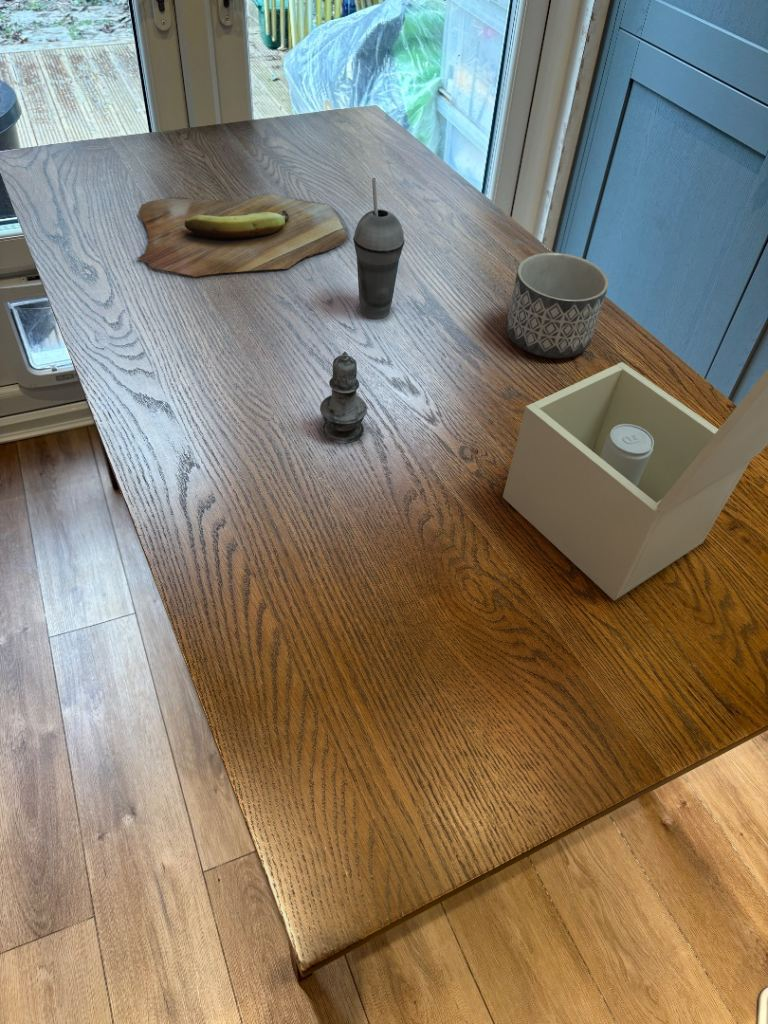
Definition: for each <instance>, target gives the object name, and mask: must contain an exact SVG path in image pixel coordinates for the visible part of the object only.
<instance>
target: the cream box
mask: <svg viewBox="0 0 768 1024" xmlns="http://www.w3.org/2000/svg"><path fill="white" fill-rule="evenodd" d="M621 424H632V425H636V426H639V427H641V428H643V429H645V430H646V431H647V432H649V433H650V435H651V436H652V437H653V440H654V446H653V451H652V454H651V456H650V458H649V460H648V463H647V465H646V467H645V469H644V472H643V474H642V476H641V478H640V481H639V483H638V485H637V487H636V486H635V485H634V484H632V483H631V482H630V481H629V480H627V479H626V478H625V477H624V476H622V475H621V474H620V473H619V472H618V471H616V470H615V469H614V468H613V467H611V466H610V465H609V464H608V463H606V462H605V461H604V460H603V459H601V458H600V455H601V452H602V449H603V447H604V444H605V441H606V439H607V436H608V435H609V433H610V432H611V430H612V429H613V428H614V427H615V426H617V425H621ZM718 430H719V428H718V427H716V426H715V425H713V424H712V423H710V422H709V421H707V420H706V419H705V418H703V417H701V415H699V414H698V413H696V412H694V411H693V410H692V409H690V408H689V407H687V405H685V404H683V403H682V402H680V400H678V399H676V398H675V397H673V396H672V395H670V394H669V393H668V392H666V391H664V389H662V388H660V386H657V385H656V384H654V383H653V382H652V381H650V380H649V379H647V378H646V377H644V376H643V375H642V374H640V373H638V371H636V370H634V369H633V368H632V367H630V366H629V365H628V364H626V363H625V362H623V361H620V362H618V363H617V364H615V365H612V366H610V367H608V368H606V369H603V370H602V371H600V372H597V373H595V374H593V375H590V376H589V377H586V378H584V379H582V380H580V381H578V382H575V383H573V384H571V385H569V386H566V387H564V388H563V389H560V390H558V391H556V392H554V393H552V394H550V395H547V396H545V397H543V398H540V399H538V400H536V401H535V402H532V403H530V404H528V405H525V407H524V412H523V416H522V420H521V423H520V426H519V431H518V435H517V438H516V443H515V447H514V451H513V455H512V459H511V462H510V467H509V470H508V474H507V478H506V482H505V485H504V490H503V494H502V499H504V500H505V501H506V502H507V503H508V504H509V505H510V506H511V507H512V508H513V509H514V510H516V512H518V513H519V514H520V515H521V516H522V517H523V518H524V519H525V520H527V522H529V523H530V524H531V525H532V527H534V528H535V529H536V530H537V531H538V532H539V533H540V534H542V535H543V537H545V538H546V539H547V540H548V541H549V542H550V543H551V544H552V545H553V546H554V547H556V548H557V549H558V550H559V551H560V552H561V553H562V554H563V555H564V557H566V558H567V559H568V560H570V562H571V563H573V564H574V566H576V567H577V568H578V569H579V570H580V571H581V572H583V573H584V575H585V576H587V577H588V578H589V579H590V580H591V581H592V582H593V583H594V584H595V585H597V587H599V589H600V590H602V591H603V592H604V593H605V594H606V595H607V596H608V597H609V598H610V599H611V600H612V601H617V600H618V599H619V598H622V597H623V596H624V595H626V594H627V593H629V592H631V590H633V589H635V588H636V587H638V586H639V585H641V584H642V583H644V582H645V581H647V580H649V579H650V578H651V577H653V576H655V575H656V574H657V573H659V572H661V571H662V570H663V569H665V568H667V567H668V566H670V565H671V564H673V563H674V562H676V561H678V560H679V559H681V558H682V557H683V556H685V555H687V554H688V553H690V552H691V551H693V550H694V549H695V548H697V547H699V546H700V545H702V544H703V543H704V542H705V540H706V539H707V536H708V535H709V533H710V532H711V529H712V528H713V526H714V524H715V522H716V521H717V519H718V517H719V516H720V515H721V512H722V511H723V509H724V507H725V505H727V502H728V500H729V499H730V497H731V495H732V493H733V491H734V490H735V489H736V487H737V485H738V483H739V482H740V480H741V478H742V476H743V475H744V473H745V472H746V470H747V467H748V466H749V464H750V462H751V461H752V459H753V458H751V459H750V460H748V461H746V462H745V463H743V464H742V465H740V466H738V467H737V468H735V469H733V470H732V471H730V472H728V473H727V474H725V475H723V476H722V477H720V478H719V479H717V480H715V481H714V482H712V483H710V484H709V485H707V486H705V487H704V488H702V489H700V490H699V491H697V492H696V493H694V494H692V495H691V496H689V497H687V498H686V499H684V500H682V501H681V502H679V503H678V504H676V505H674V506H673V507H671V508H669V509H668V510H666V511H664V512H661V511H660V510H659V509H658V508H657V505H658V504H659V503H660V502H661V500H662V499H663V498H664V497H665V495H666V494H667V493H668V492H669V490H670V489H671V488H672V487H673V485H674V484H675V483H676V482H677V481H678V479H679V478H680V477H681V476H682V474H683V473H684V472H685V471H686V469H687V468H688V467H689V466H690V464H691V463H692V462H693V461H694V459H695V458H696V457H697V456H698V454H699V453H700V452H701V451H702V449H703V448H704V447H705V446H706V444H707V443H708V442H709V441H710V440H711V438H712V437H713V436H714V435H715V433H716V432H717V431H718Z"/></svg>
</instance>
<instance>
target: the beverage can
mask: <svg viewBox="0 0 768 1024" xmlns="http://www.w3.org/2000/svg"><path fill="white" fill-rule="evenodd" d="M653 446H654V440H653V437H652V436H651V435H650V433H649V432H647V431H646V430H645V429H643V428H641V427H639V426H636V425H632V424H621V425H617V426H615V427H614V428H613V429H612V430H611V432H610V433H609V435H608V436H607V439H606V441H605V444H604V447H603V449H602V452H601V455H600V458H601V459H603V460H604V461H605V462H606V463H608V464H609V465H610V466H611V467H613V468H614V469H615V470H616V471H618V472H619V473H620V474H621V475H622V476H624V477H625V478H626V479H627V480H629V481H630V482H631V483H632V484H634V485H635V486H636V487H637V485H638V483H639V481H640V478H641V476H642V474H643V472H644V469H645V467H646V465H647V463H648V460H649V458H650V456H651V454H652V451H653Z"/></svg>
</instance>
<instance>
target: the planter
mask: <svg viewBox="0 0 768 1024" xmlns="http://www.w3.org/2000/svg"><path fill="white" fill-rule="evenodd" d="M516 271H517V272H516V275H515V280H514V284H513V290H512V294H511V299H510V304H509V308H508V312H507V317H506V323H505V331H506V334H507V336H508V338H509V339H510V340H511V342H512V343H513V344H514V345H516V346H517V347H519V348H520V349H522V350H523V351H525V352H527V353H529V354H532V355H535V356H539V357H542V358H548V359H567V358H572V357H576V356H578V355H580V354H581V353H583V352H585V351H586V350H587V349H588V348H589V346H590V345H591V343H592V339H593V337H594V333H595V329H596V327H597V323H598V321H599V317H600V314H601V310H602V307H603V305H604V302H605V298H606V295H607V291H608V289H609V285H610V283H609V278H608V276H607V274H606V273H605V272H604V271H603V269H601V268H600V266H598V265H597V264H595V263H593V262H591V261H590V260H587V259H585V258H583V257H579V256H577V255H573V254H569V253H563V252H541V253H536V254H532V255H530V256H528V257H525V258H524V259H523V260H522V261H521V262H520V263H519V264H518V266H517V270H516Z"/></svg>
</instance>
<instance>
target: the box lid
mask: <svg viewBox="0 0 768 1024" xmlns="http://www.w3.org/2000/svg"><path fill="white" fill-rule="evenodd" d="M718 429H719V430H718V431H717V432H716V433H715V435H714V436H713V437H712V438H711V440H710V441H709V442H708V443H707V444H706V446H705V447H704V448H703V449H702V451H701V452H700V453H699V454H698V456H697V457H696V458H695V459H694V461H693V462H692V463H691V464H690V466H689V467H688V468H687V469H686V471H685V472H684V473H683V474H682V476H681V477H680V478H679V479H678V481H677V482H676V483H675V484H674V485H673V487H672V488H671V489H670V490H669V492H668V493H667V494H666V495H665V497H664V498H663V499H662V500H661V502H660V503H659V504H658V505H657V508H658V509H659V510H660V511H661V512H664V511H666V510H668V509H669V508H671V507H673V506H674V505H676V504H678V503H679V502H681V501H682V500H684V499H686V498H687V497H689V496H691V495H692V494H694V493H696V492H697V491H699V490H700V489H702V488H704V487H705V486H707V485H709V484H710V483H712V482H714V481H715V480H717V479H719V478H720V477H722V476H723V475H725V474H727V473H728V472H730V471H732V470H733V469H735V468H737V467H738V466H740V465H742V464H743V463H745V462H746V461H748V460H750V459H751V458H752V459H753V458H755V457H756V456H758V455H760V454H761V453H762V452H763V451H764V449H765V448H766V447H767V446H768V368H766V369H765V371H764V372H763V374H761V376H760V377H759V379H757V381H756V382H755V384H754V385H753V386H752V387H751V388H750V389H749V391H748V392H747V393H746V395H744V397H743V399H742V400H741V401H740V402H739V403H738V405H737V406H736V407H735V408H734V410H733V411H732V412H731V413H730V415H729V416H728V417H727V418H726V419H725V421H724V422H723V423H722V425H721V426H720V427H719V428H718ZM752 459H751V460H752Z"/></svg>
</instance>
